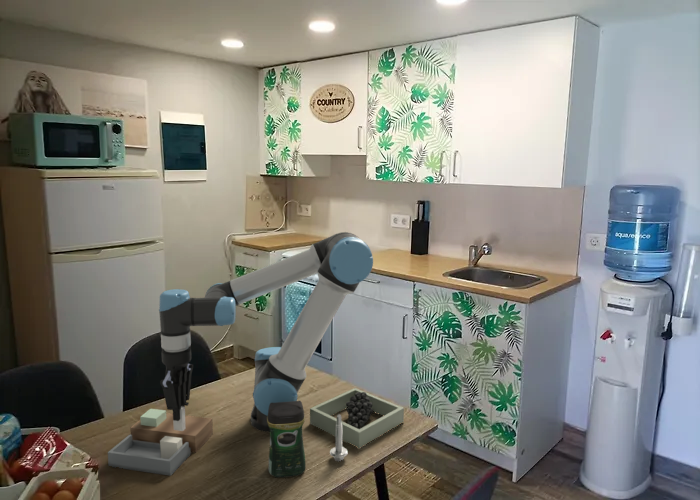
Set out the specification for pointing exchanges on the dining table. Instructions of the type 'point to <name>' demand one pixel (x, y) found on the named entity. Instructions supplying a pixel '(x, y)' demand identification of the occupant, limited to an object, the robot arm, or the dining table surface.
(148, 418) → the sage tile
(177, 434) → the walnut riser
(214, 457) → the dining table surface
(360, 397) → the fruit
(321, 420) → the fruit crate
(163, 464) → the tray
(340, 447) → the screw
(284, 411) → the coffee jar
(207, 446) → the dining table surface
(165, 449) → the cream tile
